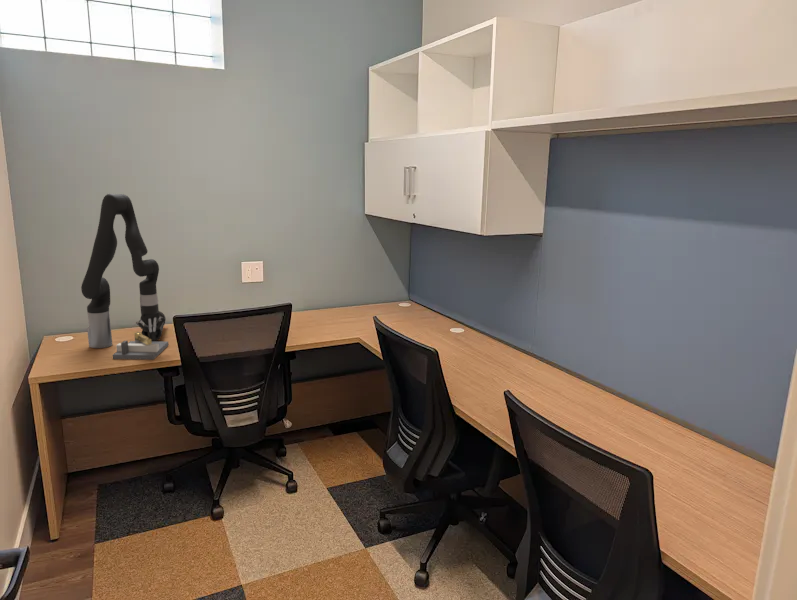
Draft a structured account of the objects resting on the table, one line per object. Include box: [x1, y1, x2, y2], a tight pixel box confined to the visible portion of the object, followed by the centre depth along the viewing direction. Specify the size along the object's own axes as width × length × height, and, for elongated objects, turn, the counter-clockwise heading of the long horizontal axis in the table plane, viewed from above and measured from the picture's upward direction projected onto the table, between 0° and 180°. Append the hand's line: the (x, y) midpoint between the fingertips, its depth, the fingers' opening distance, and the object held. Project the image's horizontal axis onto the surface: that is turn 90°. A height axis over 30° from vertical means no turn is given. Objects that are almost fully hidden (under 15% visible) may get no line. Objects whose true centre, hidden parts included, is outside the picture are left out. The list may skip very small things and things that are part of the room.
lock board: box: [112, 339, 170, 360], centre depth 264 cm, size 18×20×8 cm
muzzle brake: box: [141, 310, 166, 341], centre depth 288 cm, size 10×28×10 cm, turn 18°
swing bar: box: [133, 331, 152, 345], centre depth 262 cm, size 13×3×3 cm, turn 49°
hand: (152, 339), depth 261 cm, fingers closed
